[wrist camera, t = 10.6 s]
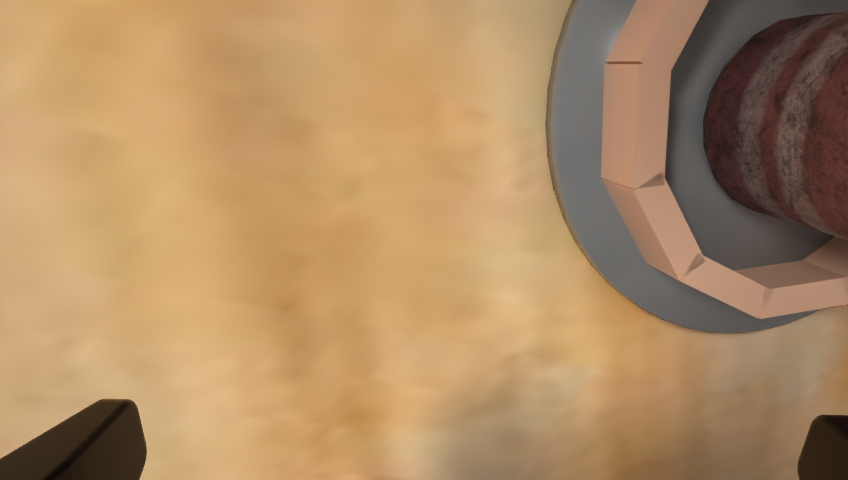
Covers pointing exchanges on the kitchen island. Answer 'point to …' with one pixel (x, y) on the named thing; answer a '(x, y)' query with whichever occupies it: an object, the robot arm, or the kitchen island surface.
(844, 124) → the can
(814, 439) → the robot arm
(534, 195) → the kitchen island surface
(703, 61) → the ring tray
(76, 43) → the kitchen island surface
